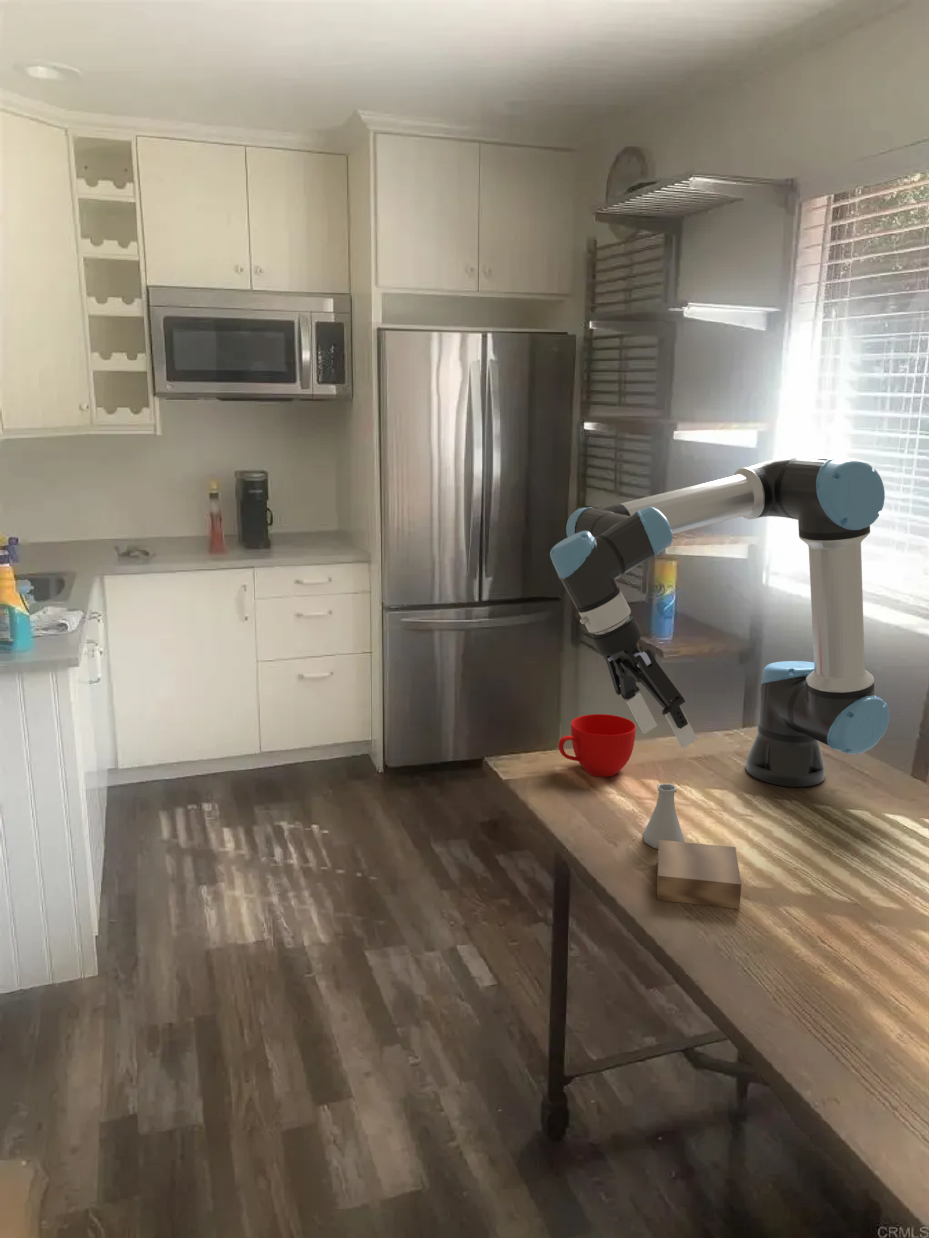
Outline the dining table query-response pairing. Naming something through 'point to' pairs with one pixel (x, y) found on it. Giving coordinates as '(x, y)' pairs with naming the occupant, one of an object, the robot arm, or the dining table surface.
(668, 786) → the flask
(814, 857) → the dining table surface
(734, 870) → the plinth
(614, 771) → the ceramic cup
